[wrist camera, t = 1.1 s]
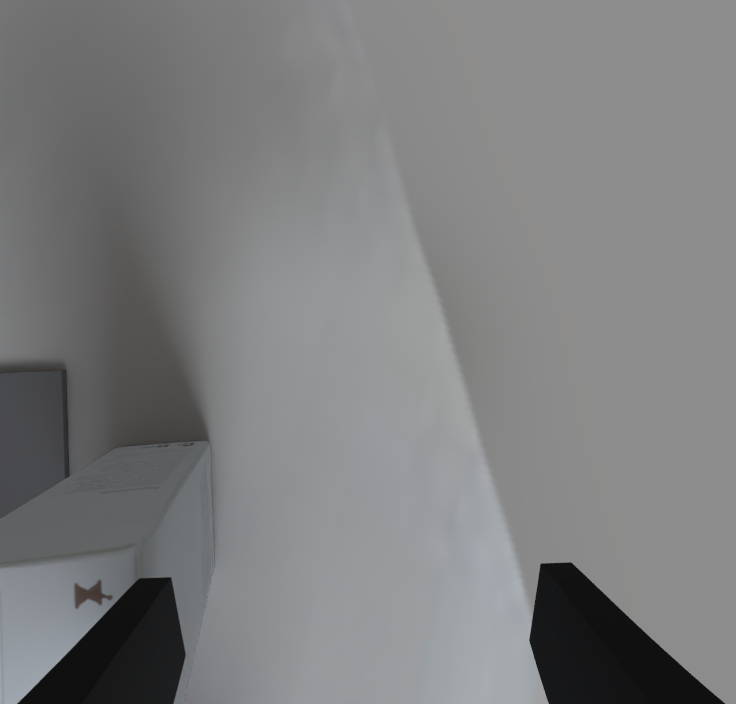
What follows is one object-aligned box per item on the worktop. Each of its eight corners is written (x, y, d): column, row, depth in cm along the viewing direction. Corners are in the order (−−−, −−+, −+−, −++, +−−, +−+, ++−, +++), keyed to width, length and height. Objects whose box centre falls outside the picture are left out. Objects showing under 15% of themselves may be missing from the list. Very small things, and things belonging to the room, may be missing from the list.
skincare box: (111, 446, 20) (-127, 564, 8) (217, 437, 21) (140, 532, 9) (117, 587, 20) (-113, 910, 8) (224, 572, 21) (155, 844, 9)
